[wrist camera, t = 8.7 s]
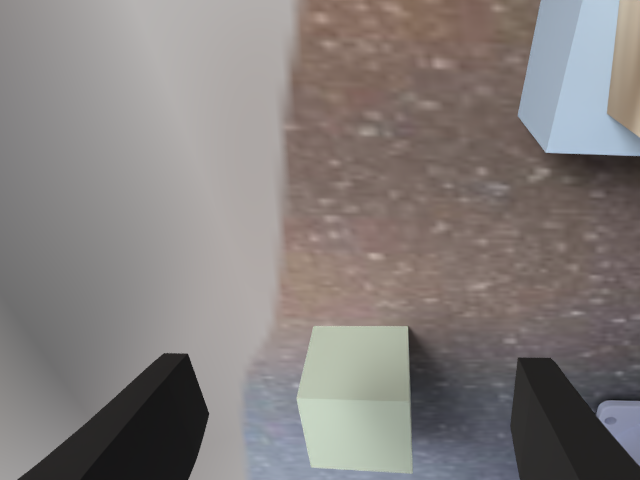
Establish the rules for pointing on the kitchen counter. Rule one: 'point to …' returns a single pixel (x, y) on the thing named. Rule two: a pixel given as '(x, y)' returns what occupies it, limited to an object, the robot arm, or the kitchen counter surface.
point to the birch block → (626, 68)
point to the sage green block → (357, 399)
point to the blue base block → (574, 80)
